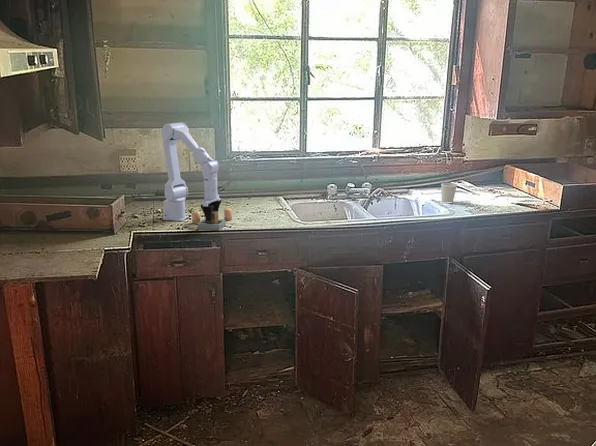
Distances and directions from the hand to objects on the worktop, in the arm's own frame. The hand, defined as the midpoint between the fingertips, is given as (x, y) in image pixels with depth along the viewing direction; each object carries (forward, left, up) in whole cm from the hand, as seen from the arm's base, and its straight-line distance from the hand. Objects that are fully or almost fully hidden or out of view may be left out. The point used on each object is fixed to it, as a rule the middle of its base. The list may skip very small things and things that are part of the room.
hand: (211, 218), depth 252 cm
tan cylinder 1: (-9, +4, -4) cm, 11 cm away
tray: (0, 0, -4) cm, 4 cm away
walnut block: (0, 0, -3) cm, 3 cm away
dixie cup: (+103, +77, -4) cm, 129 cm away
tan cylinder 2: (+3, +13, -4) cm, 14 cm away
